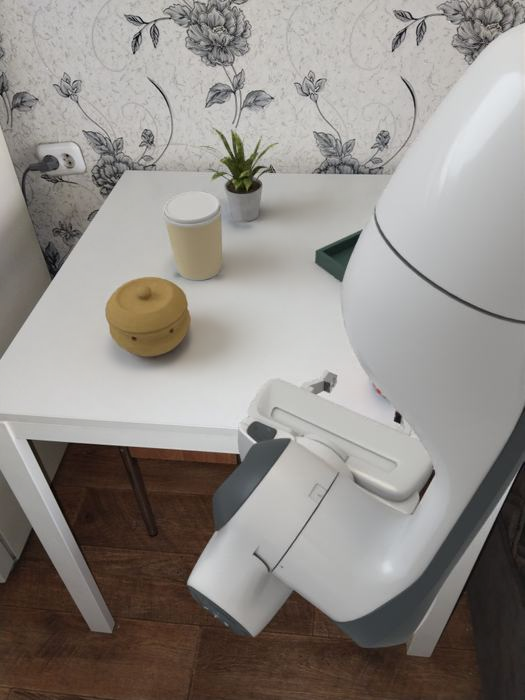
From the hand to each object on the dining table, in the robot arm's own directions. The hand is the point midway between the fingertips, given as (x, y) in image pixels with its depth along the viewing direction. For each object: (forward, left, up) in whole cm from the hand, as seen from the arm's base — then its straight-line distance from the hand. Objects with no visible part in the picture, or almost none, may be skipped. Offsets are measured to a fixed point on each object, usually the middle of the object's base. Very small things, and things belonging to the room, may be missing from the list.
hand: (368, 391), depth 68 cm
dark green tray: (+6, -36, -9) cm, 38 cm away
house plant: (+32, -47, -9) cm, 58 cm away
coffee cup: (+33, -29, -9) cm, 45 cm away
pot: (+33, -10, -9) cm, 36 cm away
